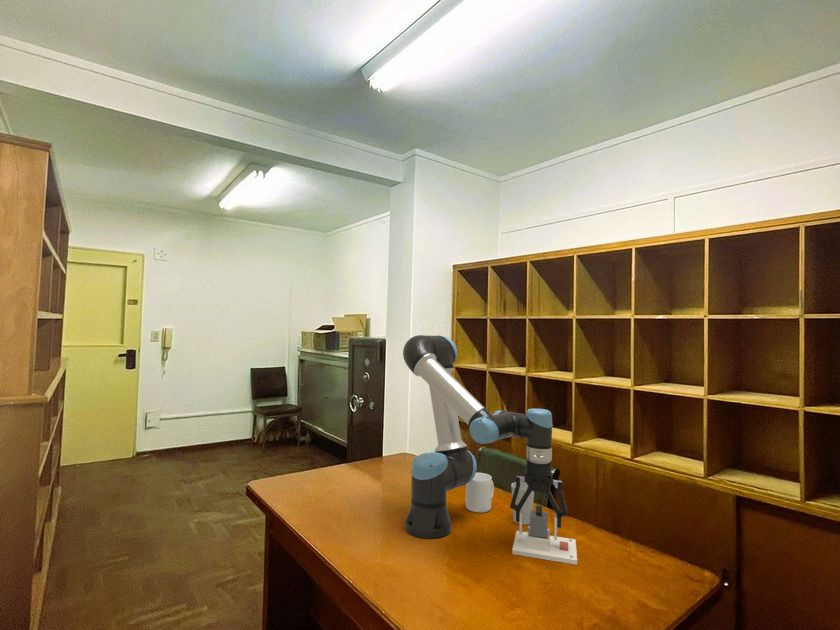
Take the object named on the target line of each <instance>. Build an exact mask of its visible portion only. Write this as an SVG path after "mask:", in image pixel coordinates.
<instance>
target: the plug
mask: <svg viewBox="0 0 840 630" xmlns="http://www.w3.org/2000/svg"><path fill="white" fill-rule="evenodd" d="M548 517H549V515H548V512H546V511H543V506H542V505H539V504H537V505H535V510H533V511H532V510H531V513H530V524H529V526H530V537H536V538H542V539H547V532H548V529H549V528H548V527H549V526H548V523H549V522H548V521H549V520H548V519H549V518H548Z"/></svg>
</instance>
